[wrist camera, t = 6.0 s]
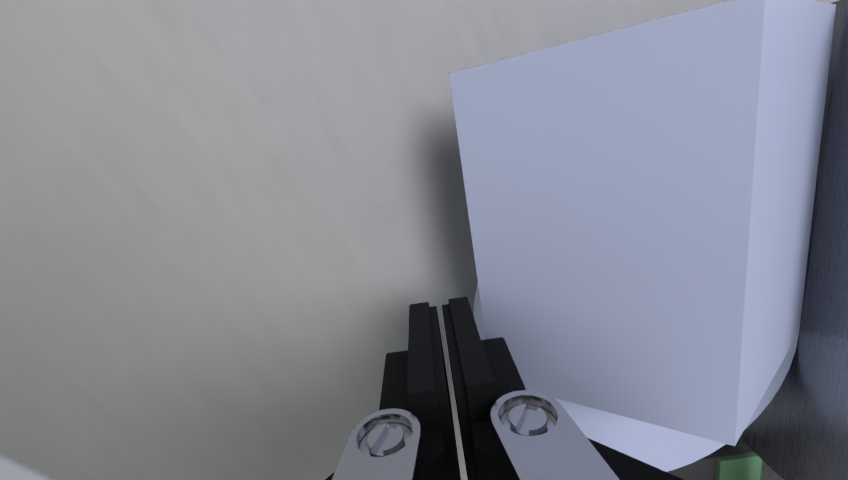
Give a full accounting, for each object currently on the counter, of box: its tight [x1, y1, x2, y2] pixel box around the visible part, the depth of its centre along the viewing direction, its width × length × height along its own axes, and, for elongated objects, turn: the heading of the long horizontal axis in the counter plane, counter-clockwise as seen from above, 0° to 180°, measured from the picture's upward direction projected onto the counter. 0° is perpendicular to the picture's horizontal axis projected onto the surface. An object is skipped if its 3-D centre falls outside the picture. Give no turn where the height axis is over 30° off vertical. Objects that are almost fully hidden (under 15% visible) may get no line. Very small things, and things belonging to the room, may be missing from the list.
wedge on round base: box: [449, 0, 836, 472], centre depth 11 cm, size 9×7×13 cm
